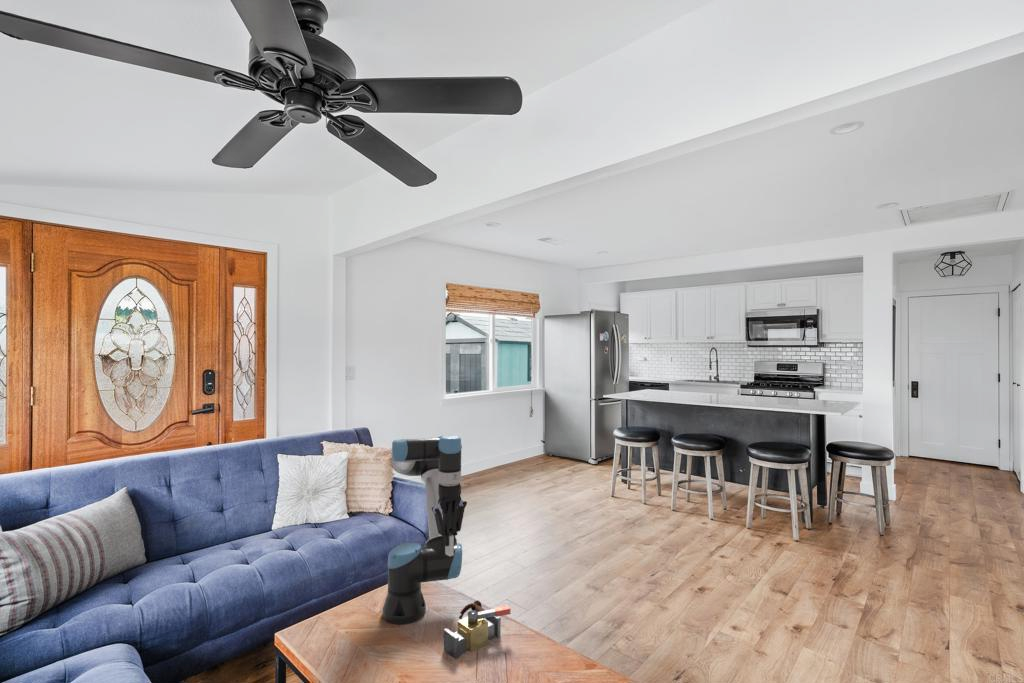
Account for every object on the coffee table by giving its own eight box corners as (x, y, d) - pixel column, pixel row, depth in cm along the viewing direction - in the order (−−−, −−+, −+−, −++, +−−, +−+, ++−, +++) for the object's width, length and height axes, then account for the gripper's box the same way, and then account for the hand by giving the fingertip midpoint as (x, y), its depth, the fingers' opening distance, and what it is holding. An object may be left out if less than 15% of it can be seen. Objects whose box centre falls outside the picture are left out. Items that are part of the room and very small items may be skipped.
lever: (469, 624, 157) (469, 616, 157) (466, 618, 160) (466, 611, 160) (510, 615, 162) (511, 608, 162) (507, 610, 165) (507, 603, 165)
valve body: (443, 649, 156) (443, 627, 156) (487, 628, 168) (487, 607, 168) (456, 660, 150) (456, 636, 150) (501, 637, 162) (501, 615, 163)
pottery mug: (490, 635, 165) (479, 616, 163) (466, 645, 166) (454, 627, 164) (492, 607, 176) (482, 590, 175) (469, 617, 177) (458, 600, 176)
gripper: (439, 489, 157) (439, 563, 157) (472, 482, 166) (471, 552, 166) (426, 484, 163) (426, 556, 163) (459, 477, 172) (458, 546, 171)
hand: (449, 554), depth 164 cm, fingers closed
